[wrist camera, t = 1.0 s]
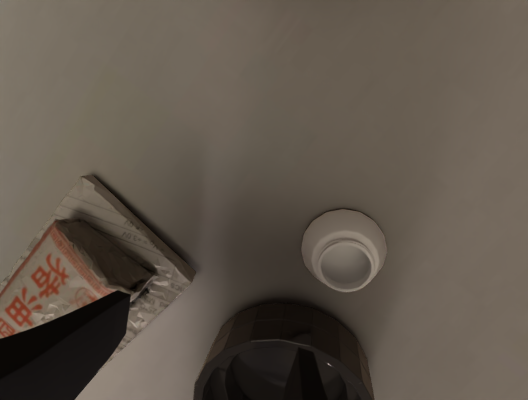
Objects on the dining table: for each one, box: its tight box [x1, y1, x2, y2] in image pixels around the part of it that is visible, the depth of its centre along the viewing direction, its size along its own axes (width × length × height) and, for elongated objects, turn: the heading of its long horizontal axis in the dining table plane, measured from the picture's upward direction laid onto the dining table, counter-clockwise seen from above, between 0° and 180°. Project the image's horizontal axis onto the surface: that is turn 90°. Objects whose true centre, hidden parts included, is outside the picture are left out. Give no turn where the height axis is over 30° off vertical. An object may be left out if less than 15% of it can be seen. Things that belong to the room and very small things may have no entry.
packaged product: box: [0, 175, 196, 373], centre depth 23 cm, size 18×5×10 cm
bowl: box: [193, 303, 375, 400], centre depth 22 cm, size 11×11×4 cm
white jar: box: [301, 209, 387, 292], centre depth 19 cm, size 5×3×5 cm
